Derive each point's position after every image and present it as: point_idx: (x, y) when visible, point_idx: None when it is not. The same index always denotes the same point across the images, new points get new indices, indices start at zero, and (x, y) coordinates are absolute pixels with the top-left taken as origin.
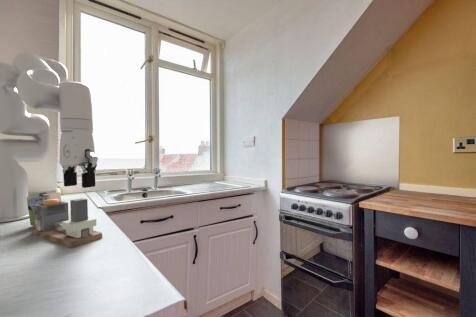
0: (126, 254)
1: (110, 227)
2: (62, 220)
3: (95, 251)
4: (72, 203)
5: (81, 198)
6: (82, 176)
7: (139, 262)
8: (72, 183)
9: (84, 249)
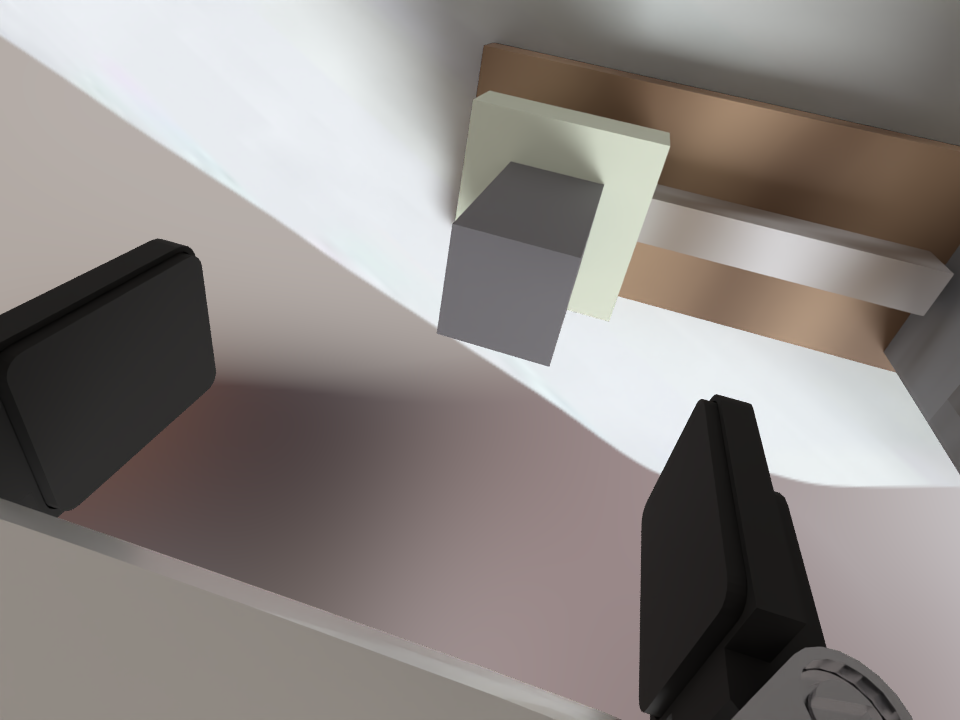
0: (132, 71)
1: (575, 398)
2: (931, 341)
3: (304, 50)
4: (537, 232)
5: (539, 355)
6: (11, 314)
7: (5, 11)
8: (663, 492)
9: (393, 53)
